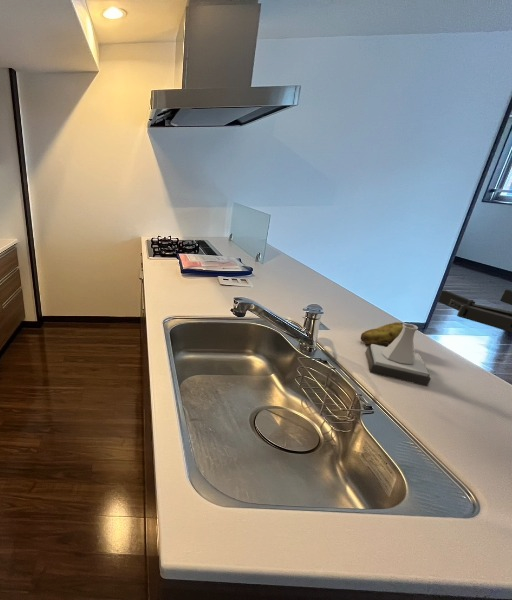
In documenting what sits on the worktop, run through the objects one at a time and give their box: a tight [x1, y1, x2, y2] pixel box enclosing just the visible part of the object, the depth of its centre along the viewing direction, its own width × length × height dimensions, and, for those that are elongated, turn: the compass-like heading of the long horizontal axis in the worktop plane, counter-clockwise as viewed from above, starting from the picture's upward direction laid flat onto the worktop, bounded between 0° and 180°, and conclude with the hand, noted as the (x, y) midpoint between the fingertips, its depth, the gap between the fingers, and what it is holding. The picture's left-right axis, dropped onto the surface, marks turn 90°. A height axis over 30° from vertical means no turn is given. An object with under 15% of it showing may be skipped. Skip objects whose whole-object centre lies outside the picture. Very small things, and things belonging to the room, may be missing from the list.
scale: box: [365, 344, 432, 387], centre depth 90 cm, size 13×12×4 cm
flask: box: [382, 322, 419, 364], centre depth 87 cm, size 7×7×10 cm
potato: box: [360, 322, 404, 346], centre depth 100 cm, size 8×13×8 cm, turn 62°
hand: (472, 295), depth 71 cm, fingers open, 13 cm apart
